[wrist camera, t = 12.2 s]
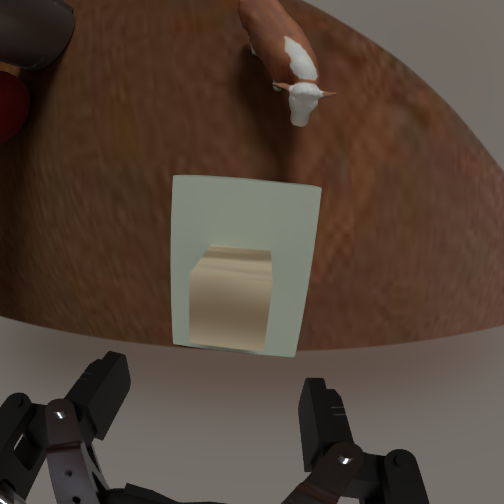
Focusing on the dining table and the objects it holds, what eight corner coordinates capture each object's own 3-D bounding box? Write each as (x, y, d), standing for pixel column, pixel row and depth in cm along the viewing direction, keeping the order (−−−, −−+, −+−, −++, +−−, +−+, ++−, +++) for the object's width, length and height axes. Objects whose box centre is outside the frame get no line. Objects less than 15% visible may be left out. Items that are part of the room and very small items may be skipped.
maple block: (210, 244, 24) (189, 273, 17) (270, 250, 24) (272, 283, 17) (208, 299, 25) (189, 342, 18) (264, 305, 25) (263, 351, 18)
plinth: (186, 174, 26) (173, 175, 22) (313, 185, 26) (321, 188, 22) (183, 324, 31) (173, 343, 27) (291, 335, 30) (294, 357, 26)
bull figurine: (282, 139, 25) (290, 126, 17) (236, 25, 22) (225, -19, 14) (326, 127, 24) (351, 110, 16) (277, 14, 21) (280, -31, 13)
